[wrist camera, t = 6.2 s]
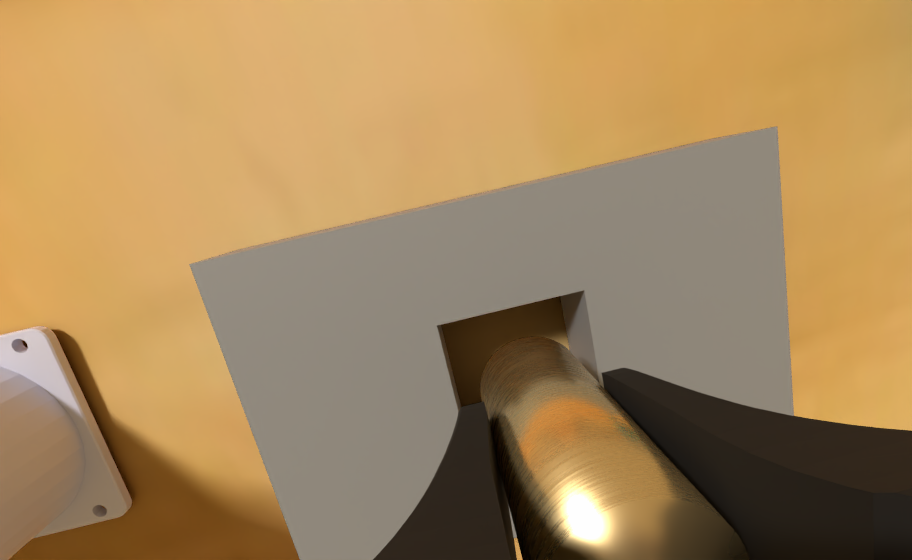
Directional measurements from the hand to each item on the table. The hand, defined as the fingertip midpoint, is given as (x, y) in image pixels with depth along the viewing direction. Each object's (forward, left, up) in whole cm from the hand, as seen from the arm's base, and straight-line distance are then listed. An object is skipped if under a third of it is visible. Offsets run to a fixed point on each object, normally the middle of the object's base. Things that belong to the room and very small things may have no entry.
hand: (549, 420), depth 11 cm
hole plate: (0, 0, -6) cm, 6 cm away
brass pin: (0, 0, -2) cm, 2 cm away
